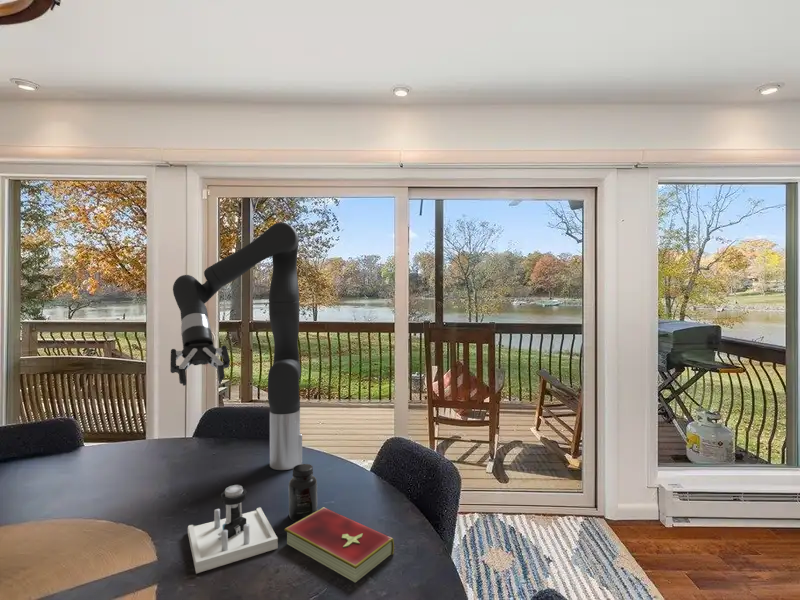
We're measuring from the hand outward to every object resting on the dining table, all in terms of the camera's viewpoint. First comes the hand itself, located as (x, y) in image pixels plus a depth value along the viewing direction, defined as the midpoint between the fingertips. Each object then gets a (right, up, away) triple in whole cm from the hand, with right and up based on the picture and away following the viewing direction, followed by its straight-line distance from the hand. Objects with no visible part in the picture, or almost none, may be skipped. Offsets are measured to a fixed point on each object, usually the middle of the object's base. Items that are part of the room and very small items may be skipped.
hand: (203, 381), depth 112 cm
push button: (+13, -31, -16) cm, 37 cm away
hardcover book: (+37, -33, -19) cm, 53 cm away
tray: (+13, -32, -16) cm, 38 cm away
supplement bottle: (+27, -32, -5) cm, 42 cm away
